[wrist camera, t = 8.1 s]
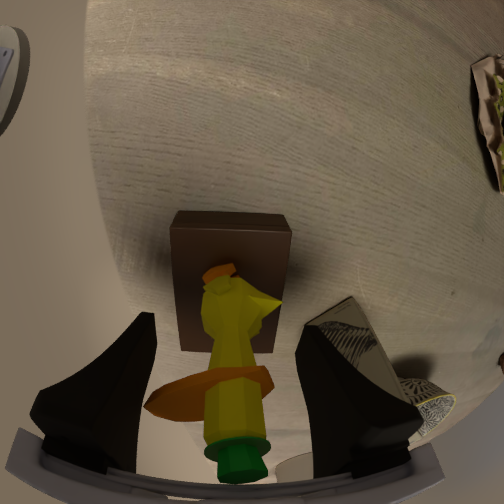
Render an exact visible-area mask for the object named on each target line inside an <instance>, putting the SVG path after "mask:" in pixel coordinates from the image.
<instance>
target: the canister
mask: <svg viewBox="0 0 504 504" xmlns="http://www.w3.org/2000/svg"><path fill="white" fill-rule="evenodd" d="M276 476H277V483H284V482H294V481H302V480H310V479H313V453H312V452H311V453H307V454H303V455H300V456H297V457H294V458H291V459H288V460H286V461H284V462H282V463H280V464H279V465H278V466H277V467H276ZM298 497H301V496H298Z"/></svg>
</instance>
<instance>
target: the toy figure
mask: <svg viewBox="0 0 504 504" xmlns="http://www.w3.org/2000/svg"><path fill="white" fill-rule="evenodd" d="M234 272H236V269H235V267H234V265H233V263H230V264H225V265H221V266H216V267H213V268H211V269H209V270H208V271H207V272H206V273H205V274H204V275H203V277H202V279H203V280H204V282H205V284H206V285H205V286H203V288H204V290H205V291H206V292H205V293H204V294H203V300H202V308H201V316H202V321H203V327H204V331H205V332H206V333H207V334H209V335H210V336H211V337H212V338H213V339H215V341H214V345H213V349H212V354H211V358H210V362H209V367H208V370H207V371H204V372H201V373H197V374H194V375H190V376H188V377H185V378H182V379H180V380H177V381H174V382H171V383H168V384H166V385H164V386H162V387H160V388H159V389H157V390H155V391H154V392H152V394H151V395H150V397H149V398H148V400H147V401H146V403H145V404H144V406H143V407H144V408H145V409H146V410H148V411H149V412H151V413H152V414H153V415H154V416H157V417H161V418H164V419H168V420H172V421H176V422H195V421H204V440H205V442H206V444H207V447H206V448H205V450H204V455H205V456H206V457H207V458H208V459H209V460H212V461H215V462H218V468H217V478H218V480H219V482H220V483H227V484H244V483H251V482H256V481H258V480H260V479H263V478H265V477H267V476H268V470H267V468H266V466H265V464H264V462H263V460H262V458H261V457H262V456H264V455H265V454H267V453H268V452H269V451H270V449H271V444H270V442H269V441H268V440H266V430H265V421H264V413H263V404H262V399H263V398H264V397H265V396H266V395H267V394H269V393H270V392H271V391H272V390H273V389H274V388H275V387H274V383H273V381H272V378H271V376H270V374H269V371H268V370H267V368H266V367H265V366H257V365H256V362H255V358H254V354H253V351H252V347H251V343H250V339H251V338H253V337H254V336H255V335H257V334H259V330H260V329H261V328H262V319H263V318H264V317H265V316H267V315H268V314H269V313H270V312H272V311H273V310H274V309H275V308H277V307H278V306H279V305H280V304H282V303H283V302H282V301H280V300H278V299H275V298H273V297H271V296H269V295H267V294H265V293H262V292H260V291H258V290H257V289H256V288H254V287H253V286H252V285H250V284H249V283H247V282H246V281H245V280H243V279H242V278H240V277H239V275H236V276H233V277H230V276H231V275H232V274H233V273H234Z"/></svg>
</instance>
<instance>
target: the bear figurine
mask: <svg viewBox="0 0 504 504" xmlns="http://www.w3.org/2000/svg"><path fill="white" fill-rule="evenodd" d="M502 56H503V55H499V54H496V53H495V56H494V57H488V58H486V59H484V60H481V61H479V62H477V63H475V64H473V65H471V67H472V71H473V74H474V78H475V82H476V86H477V90H478V94H479V99H480V100H479V114H478V122H479V117H480V124H479V130H480V132H481V134H482V135H484V136H485V137H486V140H487V147H488V149H489V151H490V153H491V156H492V160H493V163H494V167H495V170H496V174H497V178H498V183H499V188H500V193H501V194H502V195H503V196H504V65H502V64H504V60H501V57H502ZM501 63H502V64H501ZM477 126H478V124H477Z"/></svg>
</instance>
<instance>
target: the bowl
mask: <svg viewBox="0 0 504 504" xmlns="http://www.w3.org/2000/svg"><path fill="white" fill-rule="evenodd" d="M397 378H398V380H399V382H400V384H401V386H402V388H403V391H404V393H405V395H406V397H407V399H408V402H409V403H410V404H412V405H414V406H417V407H418V409H419V411H420V413H421V415H422V417H423V420H424V423H423V425H422V427H421V428H420V429H421V432H422V434H423V437H424V436H425V435H426V434H428V433H429V432H431V431H432V430H433V429H434V428H435V427H437V426H438V425H439V424H440V423H441V422H442V421H443V420H444V419H445V418H446V417H447V416H448V415H449V413H450V412H451V411H452V409H453V407H454V405H455V403H456V397H455V395H453V394H450V393H448V392H446V391H444V390H442V389H441V388H439V387H438V386H437V385H435V384H433V383H431V382H429V381H427V380H423V379H418V378H411V379H404V378H401V377H397Z"/></svg>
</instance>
